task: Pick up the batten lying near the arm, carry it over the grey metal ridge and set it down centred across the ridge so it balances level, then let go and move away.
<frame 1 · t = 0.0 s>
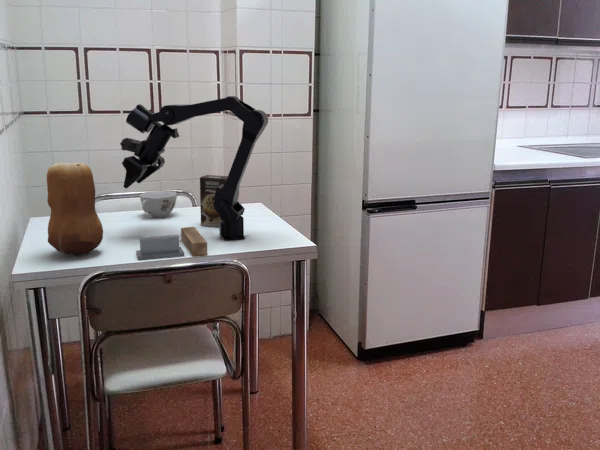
hand: (131, 185, 174), 15 cm above the table, tool tilted 35°, fingers open, 9 cm apart
teacup: (157, 217, 199), on the table
coffee box: (216, 225, 189), on the table
butternut squash: (77, 254, 155), on the table
ridge: (160, 255, 155), on the table
batten: (193, 248, 163), on the table
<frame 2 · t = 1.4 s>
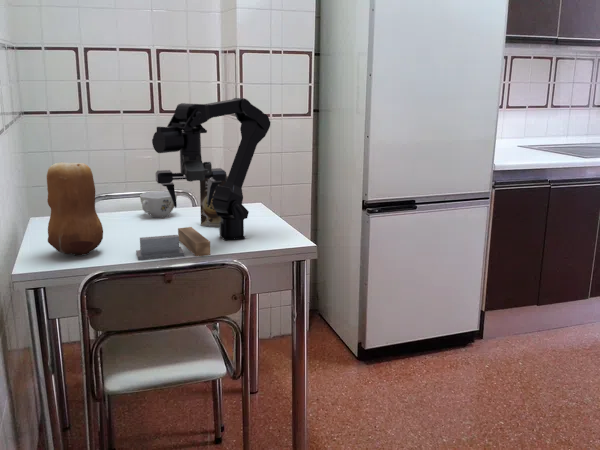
hand: (192, 206, 160), 12 cm above the table, tool pointing down, fingers open, 9 cm apart
nothing on the table moved.
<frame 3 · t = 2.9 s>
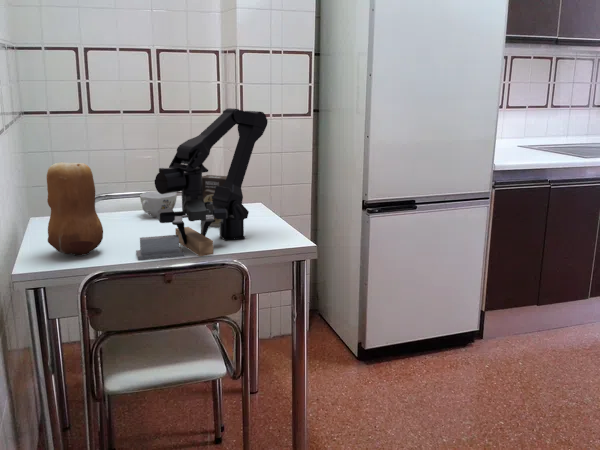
hand: (193, 243, 163), 1 cm above the table, tool pointing down, fingers closed on batten, 4 cm apart
batten: (193, 247, 163), on the table, touching gripper
everything else where it was.
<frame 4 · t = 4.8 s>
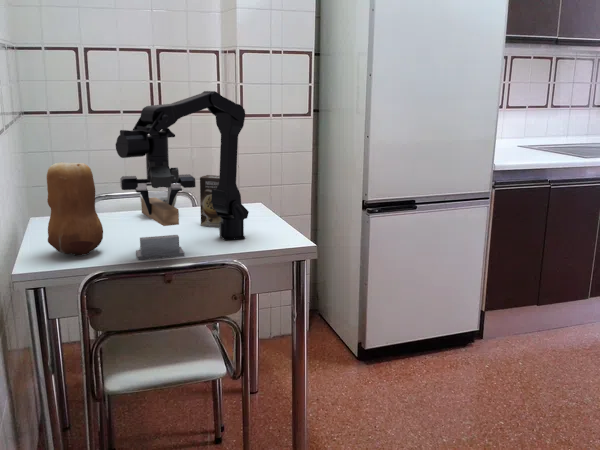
hand: (159, 214, 152), 11 cm above the table, tool pointing down, fingers closed on batten, 4 cm apart
batten: (159, 218, 153), point 10 cm above the table, touching gripper
everything else where it was.
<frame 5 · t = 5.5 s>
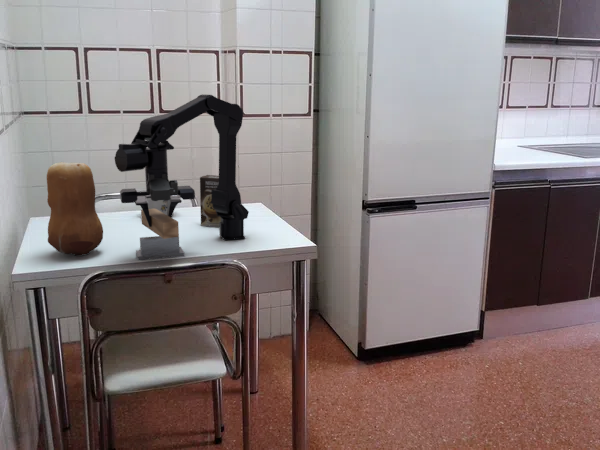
hand: (159, 225, 153), 8 cm above the table, tool pointing down, fingers closed on batten, 4 cm apart
batten: (159, 230, 153), point 7 cm above the table, touching gripper
everything else where it was.
when the fingers open (6 cm above the table, at t = 6.2 s): batten stays where it is, resting on ridge.
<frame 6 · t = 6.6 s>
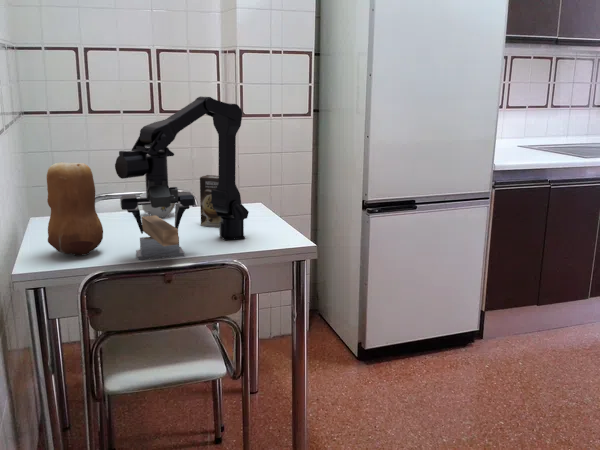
hand: (159, 232, 153), 6 cm above the table, tool pointing down, fingers open, 9 cm apart
batten: (159, 237, 154), point 5 cm above the table, touching ridge
everything else where it was.
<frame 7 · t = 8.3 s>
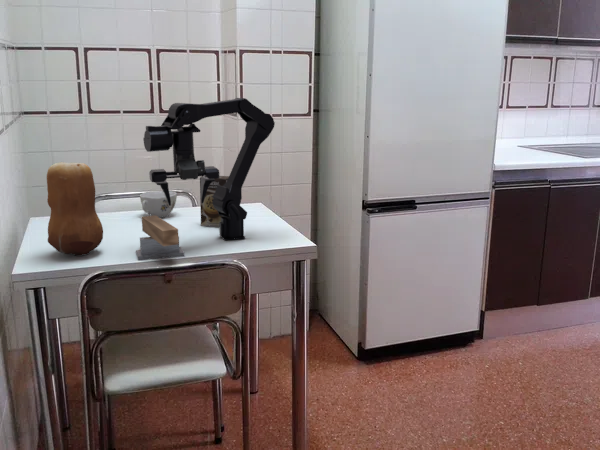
hand: (186, 204, 163), 12 cm above the table, tool pointing down, fingers open, 9 cm apart
nothing on the table moved.
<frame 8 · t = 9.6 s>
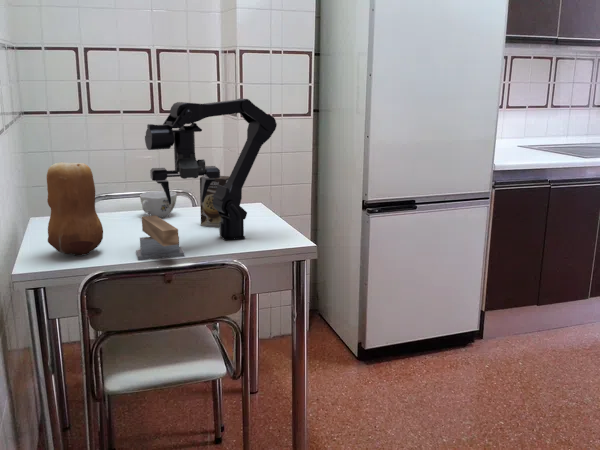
hand: (186, 203, 163), 12 cm above the table, tool pointing down, fingers open, 9 cm apart
nothing on the table moved.
at the end: batten 0.1 cm off-centre on the ridge, point 5.0 cm above the ridge's base; batten tilted 0°; the gripper is holding nothing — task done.
